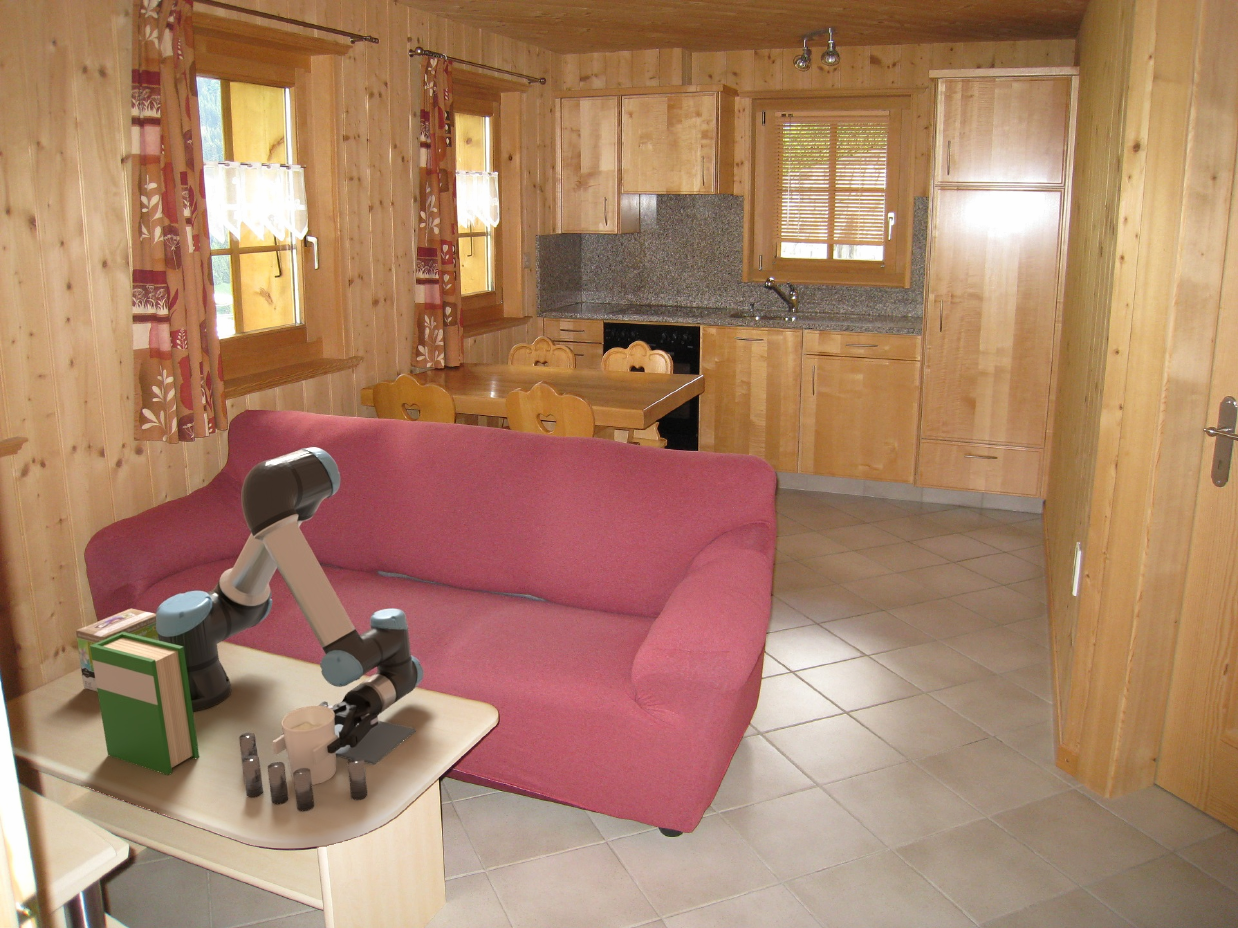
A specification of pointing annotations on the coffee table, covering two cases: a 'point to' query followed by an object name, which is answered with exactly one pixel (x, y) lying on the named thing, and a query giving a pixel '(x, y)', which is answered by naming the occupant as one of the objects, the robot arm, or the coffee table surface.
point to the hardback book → (145, 701)
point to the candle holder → (309, 740)
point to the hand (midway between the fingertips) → (294, 752)
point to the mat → (375, 742)
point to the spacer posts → (300, 776)
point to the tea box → (106, 628)
